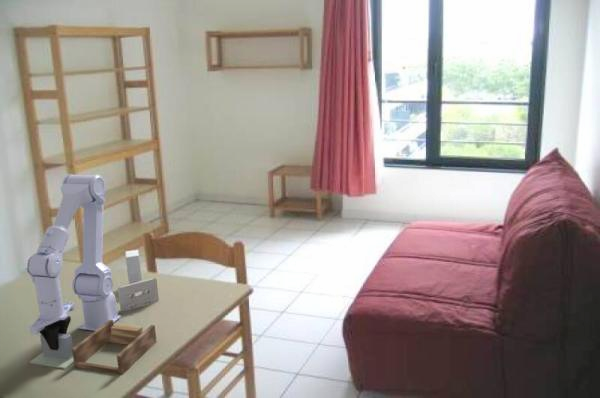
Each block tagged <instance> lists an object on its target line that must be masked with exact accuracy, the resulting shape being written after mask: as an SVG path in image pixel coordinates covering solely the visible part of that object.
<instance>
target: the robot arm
mask: <svg viewBox="0 0 600 398" xmlns="http://www.w3.org/2000/svg"><path fill="white" fill-rule="evenodd" d="M61 183H62V184H61V186H60V190H61V195H62V198H61V201H60V204H59V207H58V211H57V213H56V217H55V220H54V223H53V224H52V225H51V226H49V227H47V228H46V229H45V233H44V235H43V236H42V237H43V238H42V239H41V242H40V244H39V246H38V249H37V251H36V253H34V254H33V255H31V256H30V257H29V258H28V260H27V265H26V268H25V269H26V273H27V274H28V275H29V276H30V278H31V281H32V283H33V284H34V287H35V293H36V298H37V303H38V311H39V316H38V317H37V319H36V320H35V321H34V322H33V324H32V325H30V326H29V327H28V330H29V334H30V335H33V336H38V335H42V336H43V337H44V338H45V340H46V342H47V344H48V346H49V348H50V350H58V348H59V344H58V333H61V334H68V328H69V326H70V323H71V321H72V317H71V316H70V315H68V313H69V312H73V311H74V310H76V306H75V302H71V301H68V302H65V303H64V301H63V295H62V287H61V281H60V276H59V275H60V273H61V271H62V270H63V259H64V255H63V253H64V250H65V247H66V245H67V243H68V241H69V238H70V232H69V230H68V228H69V227H70V224H71V223H72V221H73V218H74V217H75V215H76V213H77V211H78V209H79V207H80V206H81V207H82V208H83V225H82V227H83V231H82V233H83V234H82V235H83V236H82V264H80V265H79V266H78V267H77V268H76V269H75V270H74V277H73V279H72V289H73V292H74V294H75V295H77V296H78V299H81V306H82V312H83V313H82V314H83V320H84V322H83V323H82V324H81V325H79V326H78V330H83V331H84V330H86V331H92V332H95V331H96V330H97V329H99V328H100V327H101V326H102V325H104V324H105V323H106V322H108V321H109V320H113V324H114V323H115V322H117V321H118V320H119V319H121V317H122V316H121V315H120V314H118V305H117V299H116V296H115V294H114V292H113V287H114V281H113V277H112V269H111V268H110V267H108V266H107V265H106V264H105V263H103V249H104V248H103V244H104V243H103V242H104V241H103V240H104V204H106V200H107V199H106V196H107V189H106V188H107V183H106V181H105V179H104V178H103V177H102V175H100V174H72V173H69V174H66V175H65V177H63V180H62V182H61Z"/></svg>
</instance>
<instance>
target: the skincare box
mask: <svg viewBox="0 0 600 398" xmlns="http://www.w3.org/2000/svg"><path fill="white" fill-rule="evenodd" d="M124 253H125V261H126V263H125V264H126V270H127V271H126V272H127V278H128V285H129V284H133V283H136V282H140V281H143V278H142V270H141V263H140V254H139V249H133V250H126V251H125V252H124Z"/></svg>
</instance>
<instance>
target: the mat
mask: <svg viewBox="0 0 600 398" xmlns="http://www.w3.org/2000/svg"><path fill="white" fill-rule="evenodd" d="M74 347H75V346H73V348H74ZM29 364H32V365H38V366H43V367H51V368H56V369H62V370H66V369H68V368H70V366H71V365H73V364H74V359H73V357H72V358H71V359H69V360H68V359H62V358H55V357H49V356H43V352H41V353H39V355H37V356H36V357H34V358H33V359H31V360H30V361H29Z"/></svg>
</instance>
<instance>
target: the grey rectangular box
mask: <svg viewBox="0 0 600 398" xmlns="http://www.w3.org/2000/svg"><path fill="white" fill-rule="evenodd" d="M39 338H40V343H41V349H42V350H41V351H42V353H43V356H49V357H55V358H62V359H68V360H69V359H71V358H72V357H73V353H72V349H73V347H74V346H73V339H72V334H69V333H67V334H61V333H58V344H59V348H58V350H50V348H49V346H48V344H47V342H46V340H45V338H44V337H43V336H42V335H41V334H39Z"/></svg>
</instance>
